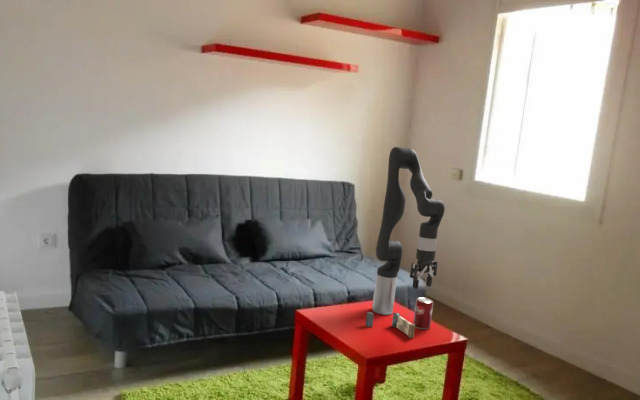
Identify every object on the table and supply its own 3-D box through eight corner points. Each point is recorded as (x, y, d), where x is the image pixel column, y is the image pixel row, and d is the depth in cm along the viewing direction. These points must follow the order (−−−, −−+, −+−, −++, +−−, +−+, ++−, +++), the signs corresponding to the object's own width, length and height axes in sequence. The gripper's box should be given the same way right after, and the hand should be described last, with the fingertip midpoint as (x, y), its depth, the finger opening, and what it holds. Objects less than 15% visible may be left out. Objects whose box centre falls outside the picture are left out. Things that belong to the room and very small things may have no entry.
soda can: (416, 329, 239) (420, 302, 238) (410, 323, 246) (414, 297, 245) (432, 330, 241) (436, 303, 239) (426, 323, 248) (429, 297, 246)
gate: (395, 327, 239) (397, 315, 238) (399, 327, 239) (400, 315, 239) (409, 338, 229) (411, 325, 228) (413, 337, 229) (415, 325, 229)
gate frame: (364, 324, 239) (366, 311, 239) (397, 325, 242) (398, 312, 242) (366, 327, 236) (368, 314, 236) (399, 327, 240) (401, 315, 239)
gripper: (430, 245, 235) (425, 283, 237) (407, 247, 226) (403, 286, 228) (444, 249, 230) (440, 287, 232) (422, 251, 220) (418, 291, 222)
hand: (421, 287), depth 230 cm, fingers open, 8 cm apart
